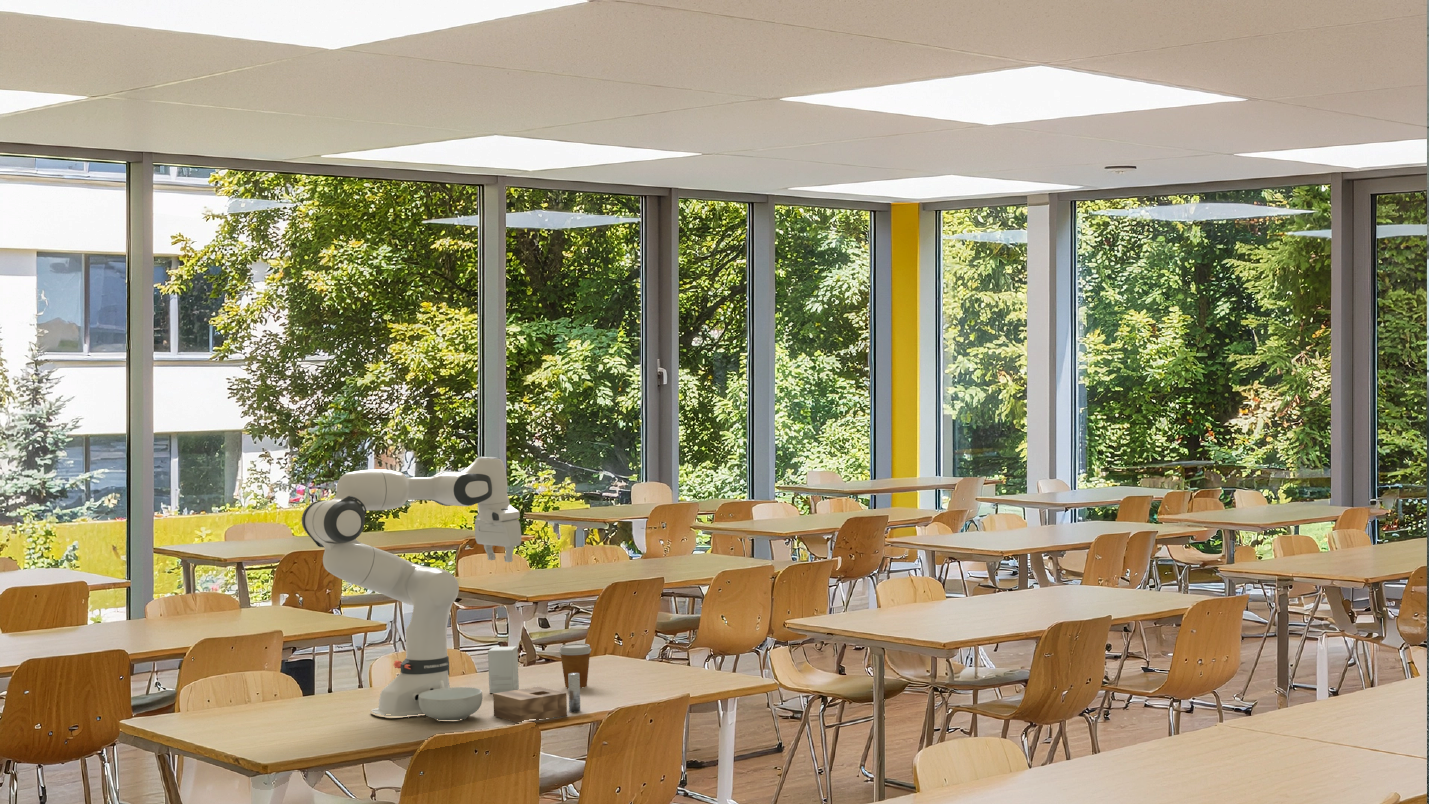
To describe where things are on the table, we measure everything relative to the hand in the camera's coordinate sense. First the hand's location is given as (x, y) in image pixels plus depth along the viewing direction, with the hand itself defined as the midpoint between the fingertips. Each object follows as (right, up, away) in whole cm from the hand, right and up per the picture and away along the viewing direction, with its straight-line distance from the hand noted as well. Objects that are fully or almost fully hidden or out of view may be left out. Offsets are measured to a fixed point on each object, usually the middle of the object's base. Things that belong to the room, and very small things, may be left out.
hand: (500, 560), depth 421 cm
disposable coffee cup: (+20, -39, +15) cm, 46 cm away
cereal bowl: (-9, -39, -30) cm, 50 cm away
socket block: (+12, -38, -29) cm, 49 cm away
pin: (+23, -38, -23) cm, 50 cm away
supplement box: (0, -39, +10) cm, 41 cm away
